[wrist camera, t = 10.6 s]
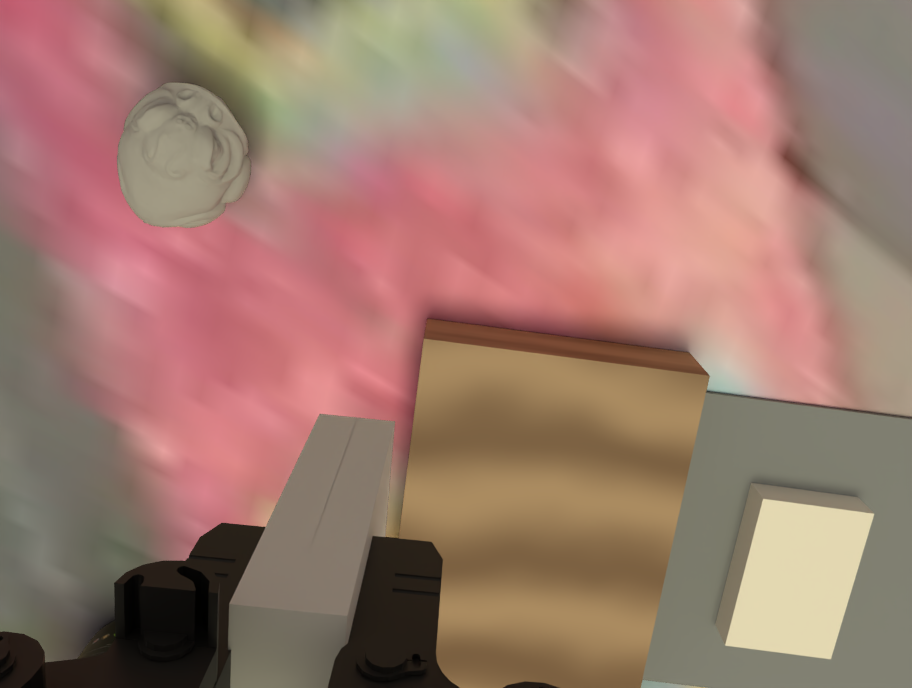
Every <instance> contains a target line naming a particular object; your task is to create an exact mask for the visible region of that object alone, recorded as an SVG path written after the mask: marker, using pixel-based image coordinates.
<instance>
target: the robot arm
mask: <svg viewBox="0 0 912 688" xmlns="http://www.w3.org/2000/svg"><path fill="white" fill-rule="evenodd" d="M394 427H395V421H385V420H375V419H365V418H356V417H346V416H336V415H326V414H319V417H318V419H317V421H316V423H315V425H314V427H313V429H312V431H311V433H310V435H309V437H308V440H307V442H306V444H305V446H304V448H303V450H302V452H301V454H300V456H299V458H298V461H297V463H296V465H295V467H294V469H293V471H292V473H291V475H290V477H289V479H288V482H287V484H286V486H285V488H284V490H283V492H282V494H281V496H280V498H279V500H278V503H277V505H276V507H275V509H274V511H273V513H272V515H271V517H270V519H269V521H268V524H267V526H266V527H259V526H249V525H239V524H229V523H221V524H219V525H218V526H216V527H215V528H213V529H212V530H210V531H209V532H207V533H206V534H204V535H203V536H201V537H200V538H199V540H198V542H197V543H196V545H195V547H194V548H193V550H192V551H191V553H190V555H189V558H187V560H186V561H159V562H155V563H150V564H145V565H142V566H139V567H137V568H135V569H133V570H131V571H128V572H126V573H125V574H124V575H123V576H122V577H120V578H119V579H118V580H117V581H116V582H115V583H114V587H115V640H114V641H113V643H112V644H111V646H110V648H109V649H108V651H107V652H106V653H104V654H101V655H98V656H92V657H87V658H81V659H73V660H64V661H55V662H46V663H45V654H44V650H43V649H42V647H41V645H40V644H39V642H38V641H37V640H35V639H33V638H31V637H29V636H27V635H25V634H19V633H12V632H0V688H460V687H458V686H457V685H455V684H454V683H452V682H451V681H450V680H449V679H448V678H447V677H446V676H445V675H444V674H443V672H442V671H441V669H440V667H439V665H438V663H437V657H436V646H437V633H438V619H439V606H440V592H441V578H442V565H443V559H442V557H441V555H440V554H439V552H438V551H437V549H436V548H435V546H434V544H433V543H432V542H429V541H419V540H409V539H399V538H390V537H385V533H386V521H387V510H388V498H389V486H390V474H391V462H392V451H393V439H394ZM503 688H559V687H556V686H553V685H550V684H547V683H541V682H527V681H524V682H519V683H515V684H510V685H506V686H505V687H503Z"/></svg>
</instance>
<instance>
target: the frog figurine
mask: <svg viewBox="0 0 912 688" xmlns="http://www.w3.org/2000/svg"><path fill="white" fill-rule="evenodd" d="M248 143H249V142H248V140H247V137H246V135H245V132H244V131H243V129H242V128H241V126H240V125H239V123H238V122H237V121H236V119H235V117H234V115H233V114H232V112H231V111H230V110H229V108H228V106H227V105H226V104H225V102H224V101H223V100H222V99H221V98H220V97H219V96H216V95H215V94H213V93H212V92H211V91H209V90H207V89H205V88H203V87H201V86H199V85H195V84H191V83H178V82H171V83H165V84H163V85H162V86H161V87H159V88H158V89H157V90H154V91H152V92H150V93H148V94H147V95H146V96H145V97H144V98H143V99H142V100H140V101H139V102H138V103H137V105H136V106H135V107H134V108H133V109H132V110H131V112H130V113H129V115H128V117H127V118H126V121H125V125H124V132H123V134H122V136H121V138H120V142H119V145H118V155H117V167H118V175H119V180H120V185H121V190H122V192H123V195H124V197H125V199H126V201H127V203H128V204H129V206H130V207H131V209H132V210H133V211H134V213H135V214H136V215H137V216H138V217H139V218H140V219H141V220H143V222H144V223H148V224H150V225H153V226H158V227H178V226H179V227H184V228H192V227H198V226H202V225H206V224H208V223H210V222H212V221H213V220H215V219H216V218H218V217H219V216H220V215H221V214H222V213H223V212H224V211H225V208H226V205H225V203H232V202H235V201H237V200H238V199H239V198H240V197H241V196H242V195H243V192H244V191H245V189H246V187H247V185H248V182H249V179H250V175H251V161H250V159H249V157H248V156H247V155H246V154H247V153H248V152H249V148H248Z"/></svg>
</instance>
